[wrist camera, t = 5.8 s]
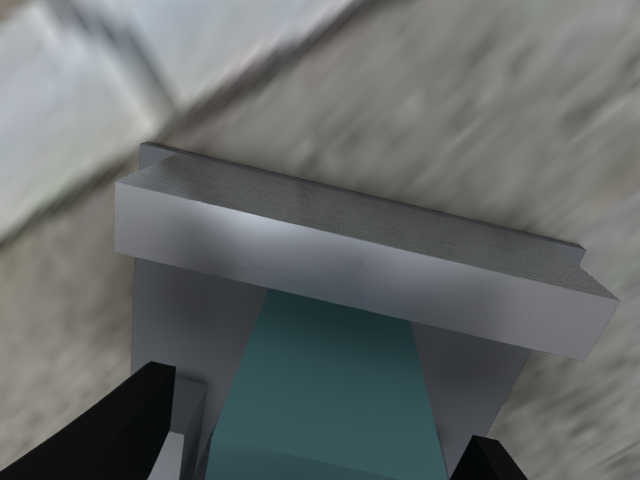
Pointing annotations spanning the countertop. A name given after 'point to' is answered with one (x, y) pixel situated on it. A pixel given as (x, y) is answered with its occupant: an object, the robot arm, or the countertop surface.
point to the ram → (203, 462)
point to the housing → (326, 399)
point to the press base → (336, 287)
